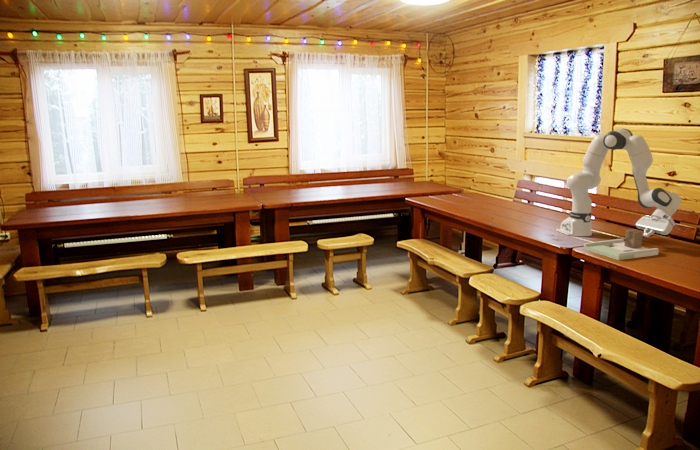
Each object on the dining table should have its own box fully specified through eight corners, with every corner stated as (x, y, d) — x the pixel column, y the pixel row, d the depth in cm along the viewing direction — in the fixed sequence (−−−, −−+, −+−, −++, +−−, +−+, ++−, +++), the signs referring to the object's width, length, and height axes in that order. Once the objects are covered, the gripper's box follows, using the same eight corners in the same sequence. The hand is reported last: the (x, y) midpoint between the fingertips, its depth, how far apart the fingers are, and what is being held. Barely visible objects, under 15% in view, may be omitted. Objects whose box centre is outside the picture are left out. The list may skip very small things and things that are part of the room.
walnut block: (624, 246, 324) (625, 230, 322) (632, 245, 326) (634, 229, 324) (633, 248, 319) (634, 232, 317) (641, 247, 321) (642, 231, 319)
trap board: (583, 249, 326) (584, 243, 325) (621, 244, 336) (622, 238, 335) (618, 260, 303) (618, 253, 303) (658, 254, 313) (658, 248, 313)
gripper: (642, 211, 334) (627, 229, 333) (673, 217, 315) (657, 236, 314) (647, 218, 336) (632, 236, 335) (678, 224, 318) (663, 243, 316)
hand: (645, 236), depth 324 cm, fingers closed
